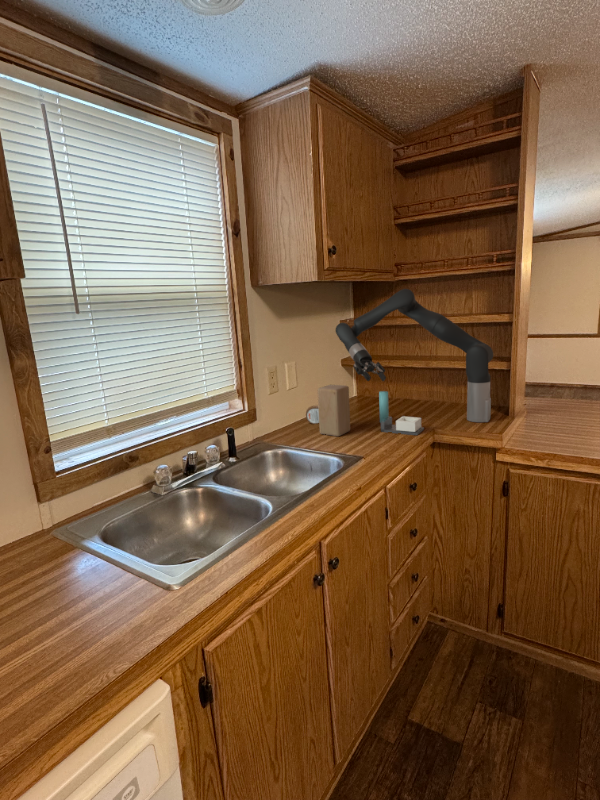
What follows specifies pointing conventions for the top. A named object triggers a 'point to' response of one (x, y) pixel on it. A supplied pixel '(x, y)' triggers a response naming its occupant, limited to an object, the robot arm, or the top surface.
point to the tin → (313, 414)
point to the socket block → (408, 424)
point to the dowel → (383, 405)
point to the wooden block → (334, 410)
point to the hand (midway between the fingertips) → (377, 379)
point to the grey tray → (388, 427)
